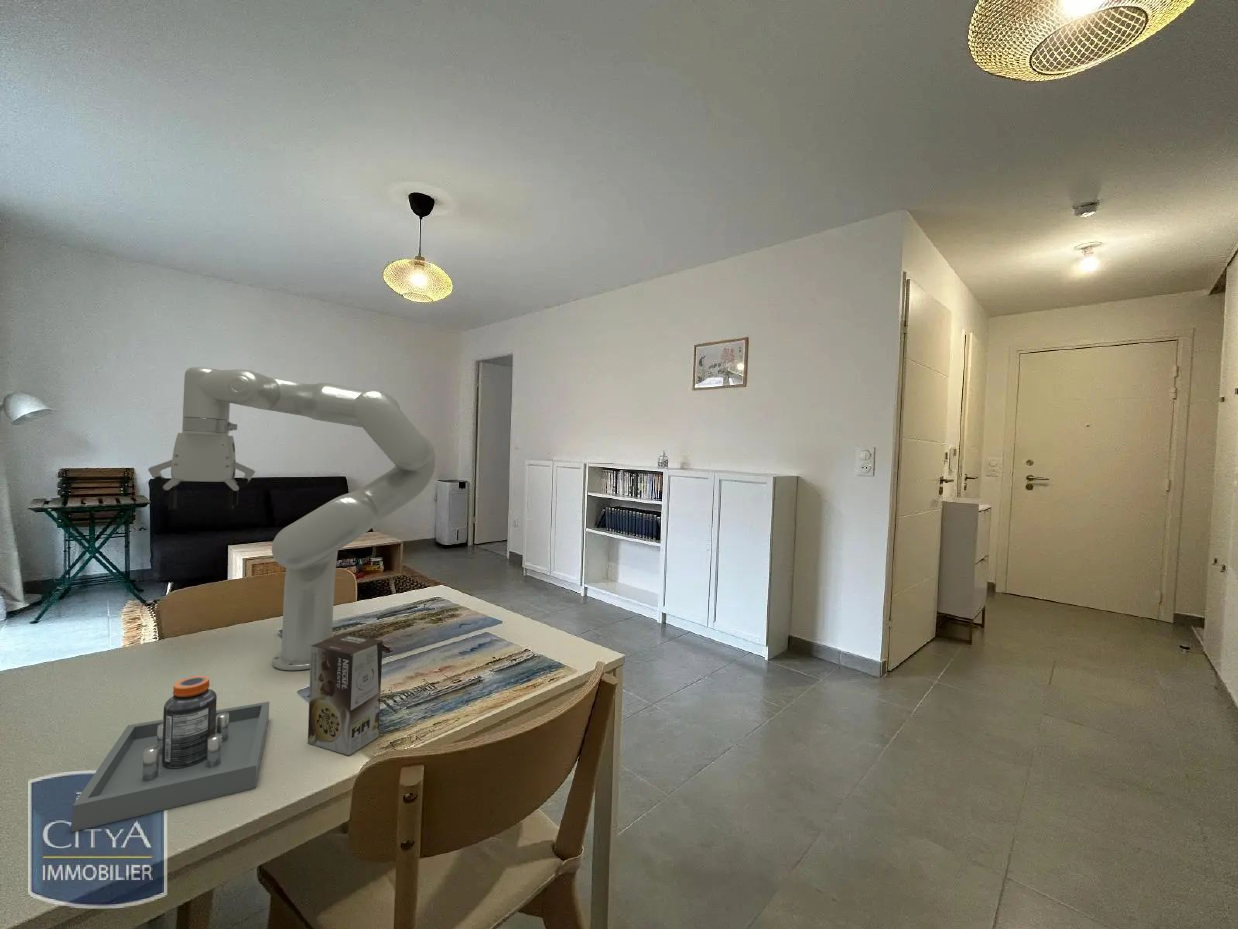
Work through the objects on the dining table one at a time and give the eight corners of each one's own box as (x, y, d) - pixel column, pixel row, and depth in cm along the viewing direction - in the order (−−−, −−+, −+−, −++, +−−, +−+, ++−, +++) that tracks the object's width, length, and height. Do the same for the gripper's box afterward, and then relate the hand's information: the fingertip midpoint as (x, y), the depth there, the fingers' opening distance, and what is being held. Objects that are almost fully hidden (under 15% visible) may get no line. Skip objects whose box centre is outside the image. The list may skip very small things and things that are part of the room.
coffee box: (380, 736, 83) (385, 640, 83) (348, 757, 77) (353, 654, 77) (339, 724, 86) (343, 631, 86) (305, 743, 80) (309, 643, 80)
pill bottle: (183, 745, 76) (187, 671, 76) (224, 745, 77) (228, 672, 76) (149, 769, 70) (153, 689, 70) (194, 770, 71) (197, 690, 70)
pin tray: (268, 719, 86) (269, 690, 86) (255, 788, 69) (257, 751, 69) (127, 745, 77) (128, 712, 77) (71, 832, 60) (73, 789, 60)
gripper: (258, 431, 112) (255, 506, 113) (156, 424, 104) (152, 507, 104) (254, 430, 106) (251, 510, 106) (145, 423, 97) (141, 511, 97)
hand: (202, 508), depth 105 cm, fingers open, 9 cm apart
